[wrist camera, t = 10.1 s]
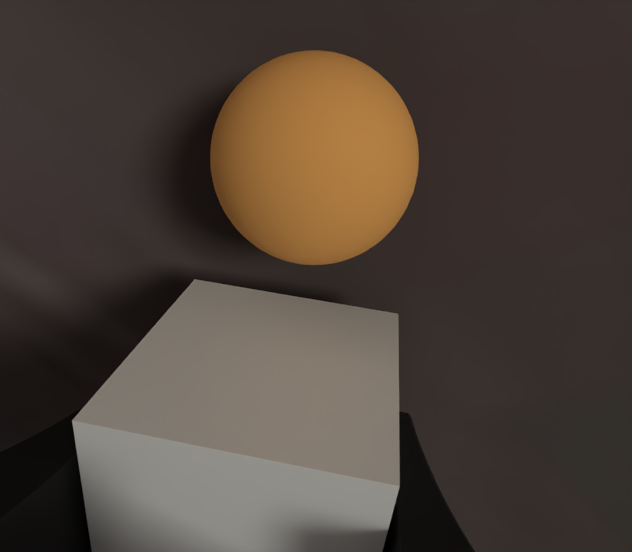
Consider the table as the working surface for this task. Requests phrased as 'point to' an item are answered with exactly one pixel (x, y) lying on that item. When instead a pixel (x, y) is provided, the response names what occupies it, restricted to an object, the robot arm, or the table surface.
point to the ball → (314, 157)
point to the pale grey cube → (246, 429)
